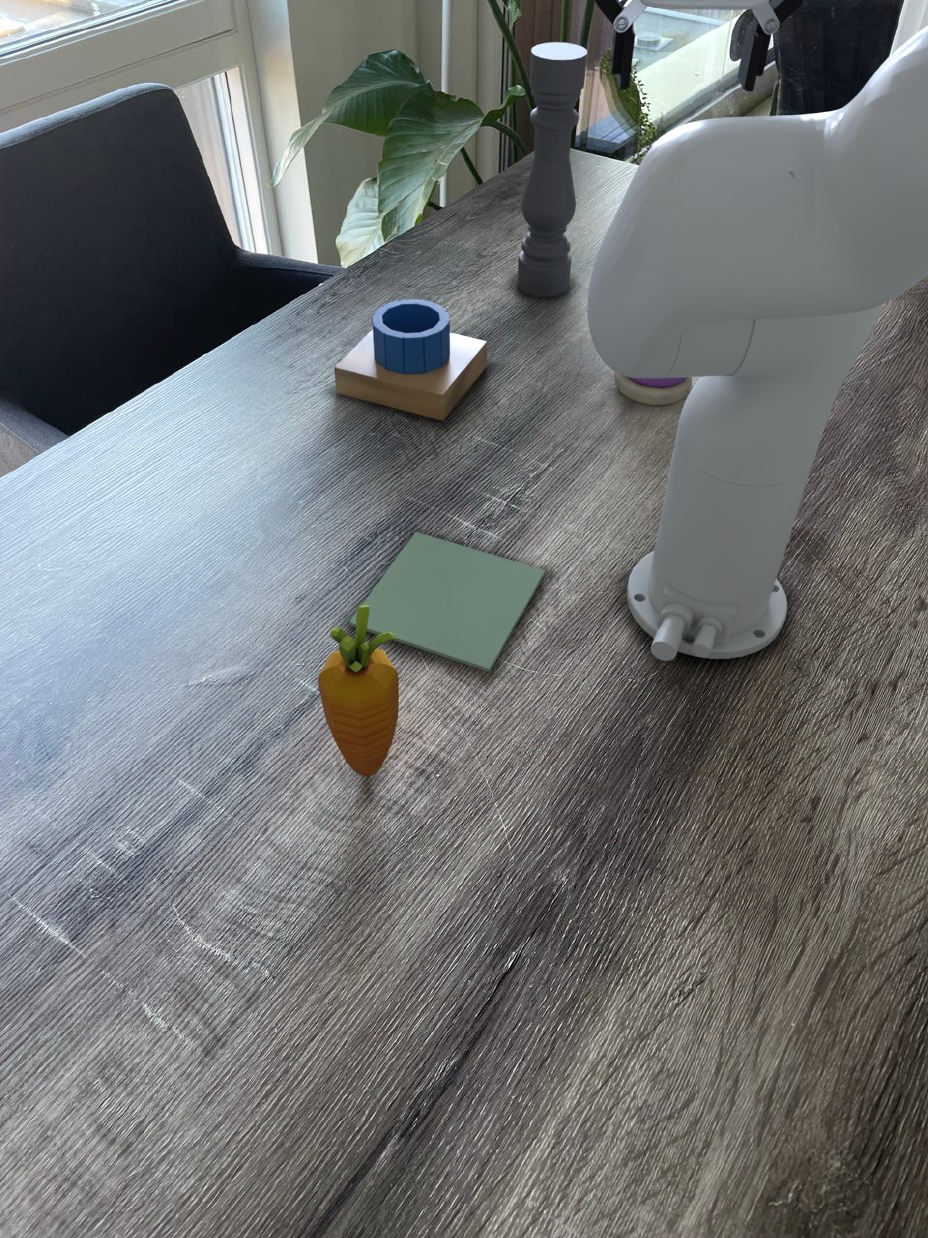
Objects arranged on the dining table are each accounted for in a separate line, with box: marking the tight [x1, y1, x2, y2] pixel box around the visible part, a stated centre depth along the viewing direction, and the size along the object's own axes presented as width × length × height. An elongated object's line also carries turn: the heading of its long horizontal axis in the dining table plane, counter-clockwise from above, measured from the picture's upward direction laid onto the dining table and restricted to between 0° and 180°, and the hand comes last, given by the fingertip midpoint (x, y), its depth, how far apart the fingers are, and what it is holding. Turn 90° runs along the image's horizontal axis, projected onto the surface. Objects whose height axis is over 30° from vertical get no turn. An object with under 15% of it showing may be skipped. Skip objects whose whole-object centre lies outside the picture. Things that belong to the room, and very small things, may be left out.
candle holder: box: [516, 41, 588, 298], centre depth 109 cm, size 6×6×25 cm
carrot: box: [317, 604, 400, 778], centre depth 63 cm, size 5×5×15 cm
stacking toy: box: [613, 371, 693, 406], centre depth 96 cm, size 8×8×19 cm
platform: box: [333, 328, 488, 422], centre depth 103 cm, size 11×12×3 cm
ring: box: [371, 298, 451, 374], centre depth 100 cm, size 8×8×4 cm
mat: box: [348, 531, 546, 673], centre depth 81 cm, size 12×12×1 cm
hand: (683, 84), depth 78 cm, fingers open, 9 cm apart
